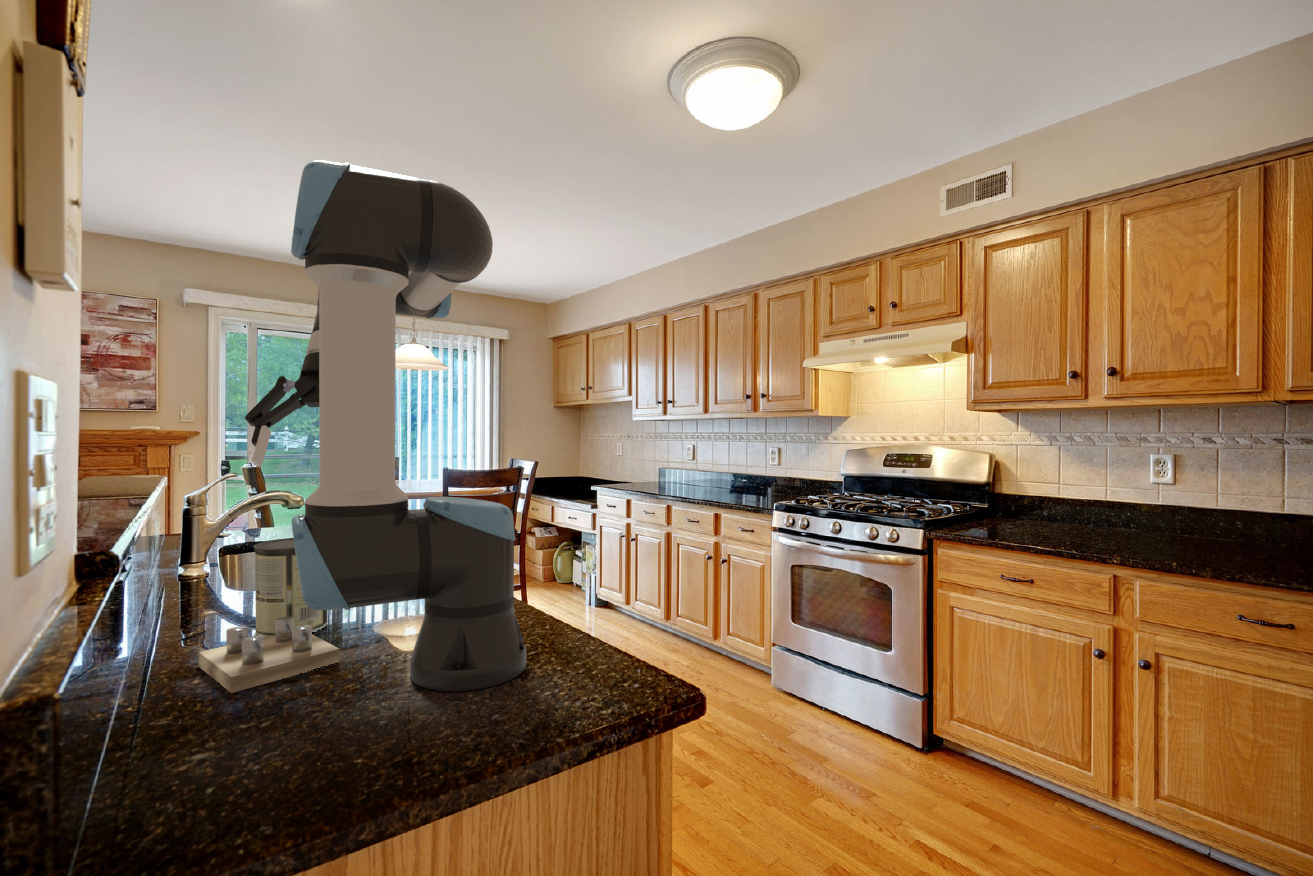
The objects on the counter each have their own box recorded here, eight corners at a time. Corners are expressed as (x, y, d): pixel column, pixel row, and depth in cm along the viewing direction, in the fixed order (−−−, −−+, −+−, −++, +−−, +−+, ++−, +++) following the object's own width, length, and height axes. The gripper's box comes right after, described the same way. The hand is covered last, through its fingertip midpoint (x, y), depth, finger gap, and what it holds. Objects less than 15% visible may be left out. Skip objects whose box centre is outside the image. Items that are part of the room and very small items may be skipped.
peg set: (315, 649, 87) (315, 627, 87) (245, 666, 80) (245, 643, 80) (290, 636, 92) (290, 615, 92) (224, 651, 86) (223, 629, 86)
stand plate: (339, 663, 87) (339, 648, 87) (231, 693, 77) (231, 676, 77) (301, 642, 95) (301, 628, 95) (198, 666, 85) (198, 652, 85)
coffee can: (284, 618, 107) (284, 536, 107) (341, 620, 106) (341, 537, 106) (238, 638, 97) (237, 547, 97) (300, 641, 96) (300, 549, 96)
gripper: (401, 379, 122) (381, 481, 113) (259, 361, 116) (226, 468, 108) (397, 359, 115) (375, 467, 107) (246, 340, 110) (210, 452, 101)
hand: (300, 468), depth 107 cm, fingers open, 13 cm apart
